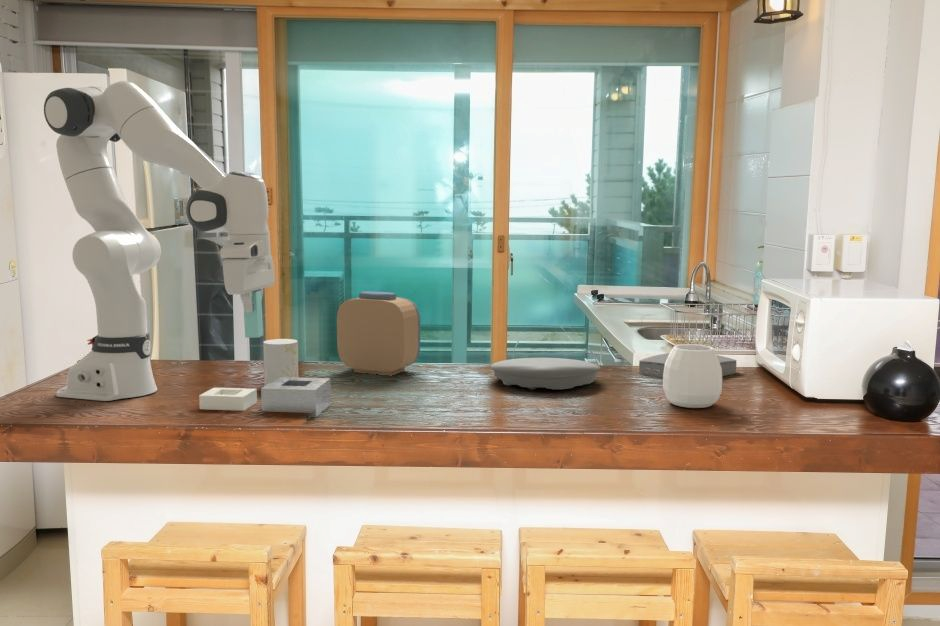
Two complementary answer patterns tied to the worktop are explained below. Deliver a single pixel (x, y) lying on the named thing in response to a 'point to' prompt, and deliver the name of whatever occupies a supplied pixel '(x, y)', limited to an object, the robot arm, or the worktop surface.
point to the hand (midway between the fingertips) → (252, 311)
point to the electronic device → (657, 363)
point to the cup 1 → (280, 359)
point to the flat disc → (545, 372)
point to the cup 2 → (692, 376)
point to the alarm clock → (378, 333)
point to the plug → (254, 317)
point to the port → (297, 395)
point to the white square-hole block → (228, 399)
